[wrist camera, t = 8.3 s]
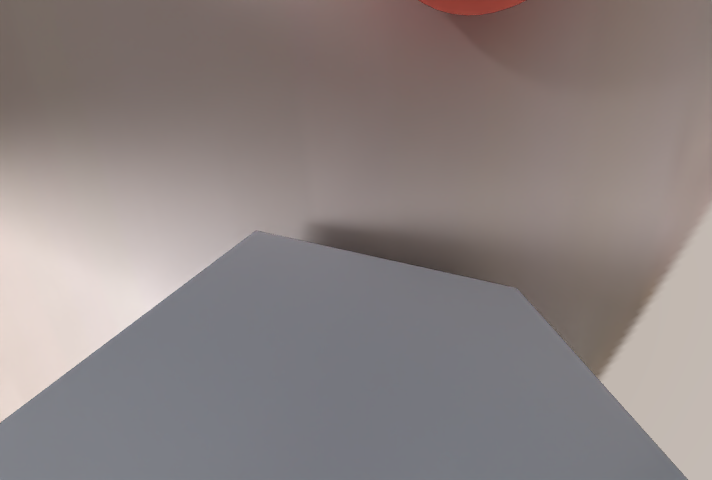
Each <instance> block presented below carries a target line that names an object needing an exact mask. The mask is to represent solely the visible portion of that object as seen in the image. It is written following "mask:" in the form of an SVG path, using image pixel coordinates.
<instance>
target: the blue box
mask: <svg viewBox="0 0 712 480" xmlns="http://www.w3.org/2000/svg"><path fill="white" fill-rule="evenodd" d="M0 480H688V479H687V478H686V477H685V476H684V475H683V473H682V472H681V471H680V470H679V469H678V468H677V467H676V466H675V465H674V463H673V462H672V461H671V460H670V459H669V458H668V457H667V456H666V454H665V453H664V452H663V451H662V450H661V449H660V448H659V447H658V445H657V444H656V443H655V442H654V441H653V440H652V439H651V438H650V437H649V435H648V434H647V433H646V432H645V431H644V430H643V429H642V428H641V426H640V425H639V424H638V423H637V422H636V421H635V420H634V419H633V418H632V416H631V415H630V414H629V413H628V412H627V411H626V410H625V409H624V407H623V406H622V405H621V404H620V403H619V402H618V401H617V400H616V399H615V397H614V396H613V395H612V394H611V393H610V392H609V391H608V390H607V389H606V387H605V386H604V385H603V384H602V383H601V382H600V381H599V379H598V378H597V377H596V376H595V375H594V374H593V373H592V372H591V371H590V369H589V368H588V367H587V366H586V365H585V364H584V363H583V362H582V360H581V359H580V358H579V357H578V356H577V355H576V354H575V353H574V351H573V350H572V349H571V348H570V347H569V346H568V345H567V344H566V343H565V341H564V340H563V339H562V338H561V337H560V336H559V335H558V334H557V332H556V331H555V330H554V329H553V328H552V327H551V326H550V325H549V324H548V322H547V321H546V320H545V319H544V318H543V317H542V316H541V315H540V313H539V312H538V311H537V310H536V309H535V308H534V307H533V306H532V304H531V303H530V302H529V301H528V300H527V299H526V298H525V297H524V296H523V294H522V293H521V292H520V291H519V290H518V289H517V288H514V287H510V286H505V285H501V284H496V283H492V282H487V281H483V280H478V279H474V278H469V277H465V276H460V275H455V274H451V273H446V272H442V271H437V270H433V269H428V268H424V267H419V266H415V265H410V264H406V263H401V262H396V261H392V260H387V259H383V258H378V257H374V256H369V255H365V254H360V253H356V252H351V251H347V250H342V249H338V248H333V247H328V246H324V245H319V244H315V243H310V242H306V241H301V240H297V239H292V238H288V237H283V236H279V235H274V234H269V233H265V232H260V231H255V232H253V233H252V234H251V235H249V236H248V237H247V238H245V239H244V240H243V241H241V242H240V243H239V244H237V245H236V246H235V247H233V248H232V249H231V250H229V251H228V252H227V253H225V254H224V255H223V256H221V257H220V258H219V259H217V260H216V261H215V262H213V263H212V264H211V265H209V266H208V267H207V268H205V269H204V270H203V271H201V272H200V273H199V274H197V275H196V276H195V277H193V278H192V279H191V280H189V281H188V282H187V283H186V284H184V285H183V286H182V287H180V288H179V289H178V290H176V291H175V292H174V293H172V294H171V295H170V296H168V297H167V298H166V299H164V300H163V301H162V302H160V303H159V304H158V305H156V306H155V307H154V308H152V309H151V310H150V311H148V312H147V313H146V314H144V315H143V316H142V317H140V318H139V319H138V320H136V321H135V322H134V323H132V324H131V325H130V326H128V327H127V328H126V329H124V330H123V331H122V332H120V333H119V334H118V335H116V336H115V337H114V338H112V339H111V340H110V341H108V342H107V343H106V344H104V345H103V346H102V347H100V348H99V349H98V350H96V351H95V352H94V353H92V354H91V355H90V356H88V357H87V358H86V359H84V360H83V361H82V362H80V363H79V364H78V365H76V366H75V367H74V368H72V369H71V370H70V371H68V372H67V373H66V374H64V375H63V376H62V377H61V378H59V379H58V380H57V381H55V382H54V383H53V384H51V385H50V386H49V387H47V388H46V389H45V390H43V391H42V392H41V393H39V394H38V395H37V396H35V397H34V398H33V399H31V400H30V401H29V402H27V403H26V404H25V405H23V406H22V407H21V408H19V409H18V410H17V411H15V412H14V413H13V414H11V415H10V416H9V417H7V418H6V419H5V420H3V421H2V422H1V423H0Z"/></svg>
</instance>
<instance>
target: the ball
mask: <svg viewBox="0 0 712 480" xmlns="http://www.w3.org/2000/svg"><path fill="white" fill-rule="evenodd" d="M419 1H420V2H422V3H424V4H425V5H428V6H430V7H432V8H434V9H437V10H440V11H443V12H447V13H450V14H458V15H483V14H488V13H494V12H497V11H501V10H504V9H507V8H510V7H513V6H515V5H517V4H520V3H522V2H524V1H526V0H419Z"/></svg>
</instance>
